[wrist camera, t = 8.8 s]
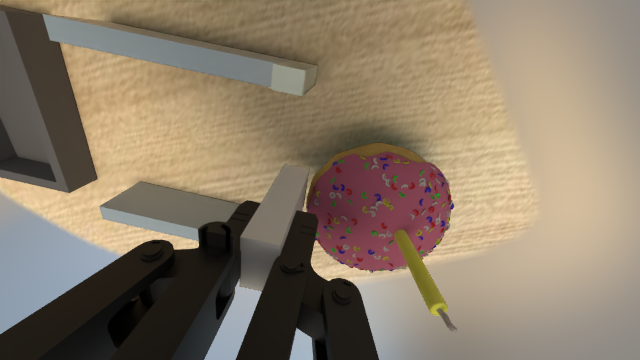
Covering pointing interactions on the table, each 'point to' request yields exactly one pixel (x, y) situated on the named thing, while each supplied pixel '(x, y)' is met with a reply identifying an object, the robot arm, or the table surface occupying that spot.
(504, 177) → the table surface
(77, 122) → the bin
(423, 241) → the cupcake
